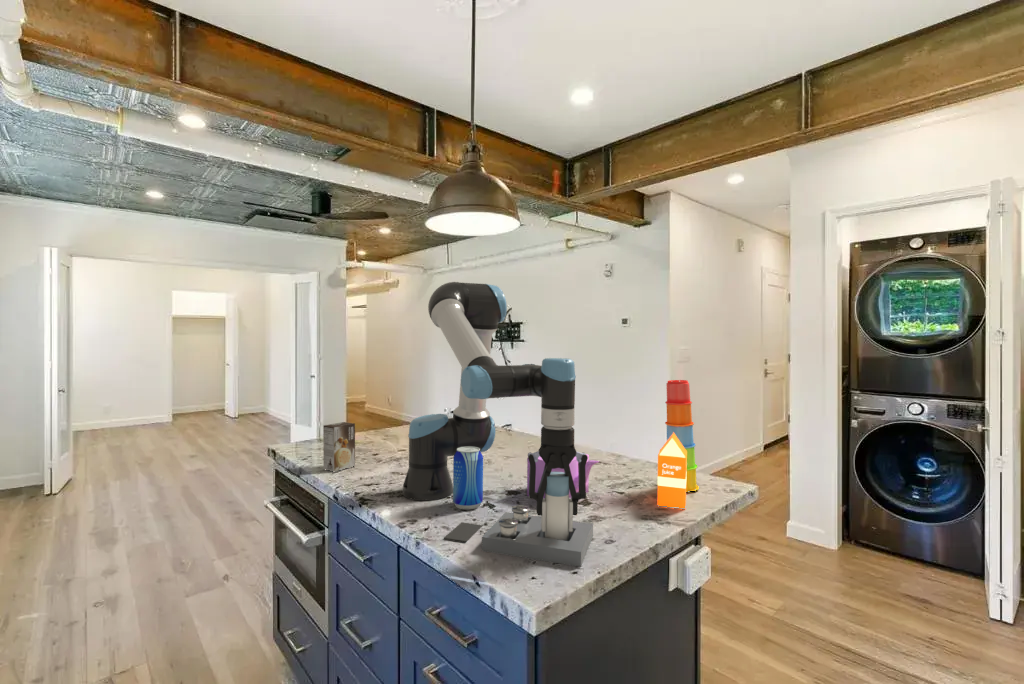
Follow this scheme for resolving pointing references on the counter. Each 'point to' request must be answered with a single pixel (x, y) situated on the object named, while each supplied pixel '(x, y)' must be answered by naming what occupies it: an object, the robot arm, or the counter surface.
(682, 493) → the orange juice
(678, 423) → the stacking cups
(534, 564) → the counter surface
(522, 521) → the plunger far
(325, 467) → the coffee box
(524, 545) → the housing
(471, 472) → the beer can
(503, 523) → the chrome dome knob
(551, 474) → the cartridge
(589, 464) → the teapot
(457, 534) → the mat
